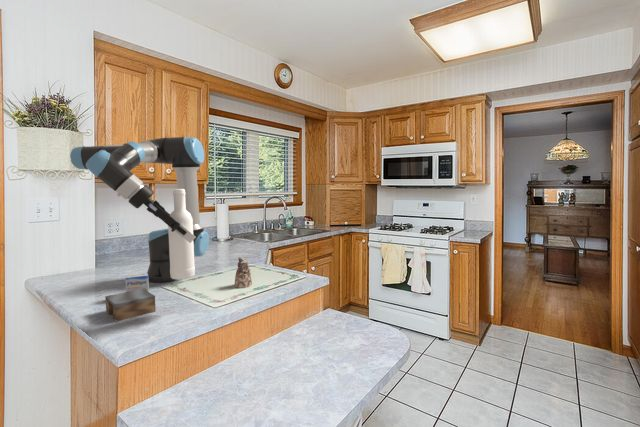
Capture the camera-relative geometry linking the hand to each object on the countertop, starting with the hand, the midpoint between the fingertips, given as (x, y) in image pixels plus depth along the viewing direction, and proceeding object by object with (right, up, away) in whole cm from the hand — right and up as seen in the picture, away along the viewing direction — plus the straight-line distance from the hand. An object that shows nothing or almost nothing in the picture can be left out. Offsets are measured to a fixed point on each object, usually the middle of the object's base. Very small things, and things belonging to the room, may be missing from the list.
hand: (191, 238), depth 117 cm
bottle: (-3, -13, 0) cm, 14 cm away
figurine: (+11, -23, +31) cm, 40 cm away
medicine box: (-27, -24, +16) cm, 40 cm away
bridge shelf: (-21, -25, +1) cm, 33 cm away
